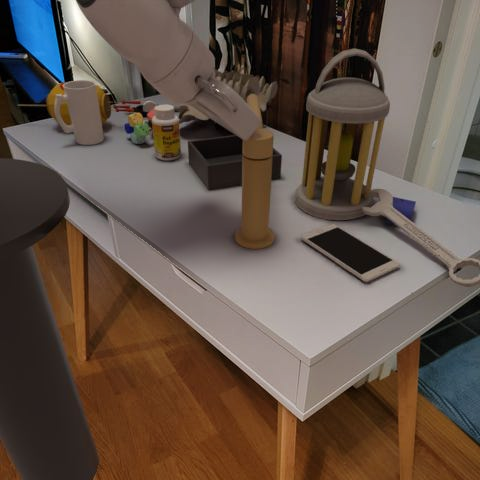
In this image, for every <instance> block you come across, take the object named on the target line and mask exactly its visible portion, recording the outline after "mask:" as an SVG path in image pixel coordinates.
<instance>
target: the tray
mask: <svg viewBox="0 0 480 480" xmlns="http://www.w3.org/2000/svg"><path fill="white" fill-rule="evenodd" d="M242 144H243V139H241V138H240V137H238V136H236V135H229V136H228V135H224V136H218V137H209V138H200V139H194V140H187V154H188V155H187V156H188V164H189V165H190V167H191V169H192V170H193V171H194V172H195V174H196V175H197V177H198V178H199V179H200V181H201V182H202V183H203V184H204V186H205V187H206V189H207V190H208V191H210V190H217V189H223V188H229V187H235V186H242V155H243V153H242ZM282 159H283V155H282V154H281V153H280V152H279V151H278V150H277V149H276V148H274V147H273V154H272V175H271V181H273V180H280V179H281V175H282V161H283V160H282Z"/></svg>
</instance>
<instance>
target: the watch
mask: <svg viewBox="0 0 480 480" xmlns="http://www.w3.org/2000/svg"><path fill="white" fill-rule="evenodd" d="M158 105H159V104H157V103H155V102H154V101H153V100H148V101H145V102H144V103H143V104H142V103H141V104H138V105H136V106H135V107H136V112H135V113H140V114H141V115H142V117H143V119H148V118H147V114H148V113H149V112H150V111H151V110H152V109H153V108H154V107H156V106H158ZM144 111H145V112H144Z"/></svg>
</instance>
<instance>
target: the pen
mask: <svg viewBox="0 0 480 480" xmlns="http://www.w3.org/2000/svg"><path fill="white" fill-rule="evenodd" d="M172 106H173V107H174V112H180V108H181V106H182V105H172ZM136 107H137V106H135V107H133V106H132V107H130V109H134V112H133V113H136ZM144 112H145V111H144ZM128 113H130V114H131V112H128Z"/></svg>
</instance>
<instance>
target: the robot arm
mask: <svg viewBox="0 0 480 480" xmlns="http://www.w3.org/2000/svg"><path fill="white" fill-rule="evenodd" d="M195 1H196V0H75V3H76V4H77V6H78V8H79V9H80V11H81V13H82V15H83V16H84V17H85V19H86V20H87V21H88V22H89V24H90V25H91V27H92V28H93V29H94V30H95V31H96V32H97V33H98V35H99V36H100V37H101V38H102V39H103V40H104V41H105V42H106V43H107V44H108V45H109V46H110V47H111V48H112V49H113V50H114V51H115V52H116V53H117V54H118V55H119V56H120V57H122V58H123V59H124V60H126V61H128V62H130V63H131V64H133V65H134V66H135V67H136V68H137V69H138V70H139V72H140V74H141V75H142V77H143V78H144V79H145V81H146V82H147V83H148V84H150V85H151V87H152V88H154V89H155V90H156V91H157V92H158V93H159V94H160V95H161V96H162V97H163V98H164V99H165V100H166V101H167V102H168V103H169V104H170V105H172V106H181V105H185V106H189V105H190V106H192V107H194V108H195V109H197V110H198V111H200V112H201V113H203V114H204V115H206V116H207V117H209V119H210V120H212V121H214V123H215V122H217V123H218V124H220V125H221V126H223V127H224V128H226V129H227V130H229V131H230V132H232V133H233V134H235V135H236V136H238V137H240V138H241V139H243V140H244V141H248V139H249V138H251V137H252V135H253V134H254V133H255V132H256V130H257V129H258V128H259V126H260V125H261V120H260V118H259V116H258V115H257V114H256V113H255V112H254V111H253V110H252V109H251V108H250V106H249V105H248V104H247V103H246V102H245V101H244V100H243V99H242V98H241V97H240V96H239V95H238V94H237V93H236V92H235V91H234V90H233V89H232V88H231V87H229V86H228V85H227V84H225V83H223V82H221V81H220V80H218V79H216V78H215V71H214V70H215V68H214V67H215V60H216V59H215V56H214V54H213V52H212V51H211V50H210V49H209V47H208V46H207V45H206V44H205V43H204V42H203V41H202V39H201V38H200V37H199V36H198V35H197V34H196V33H195V31H194V30H193V29H192V28H191V27H190V26H189V24H187V23H186V22H185V21H183V20H181V17H180V13H181V11H182V9H183V8H185V7H187V6H188V5H190V4H192V3H193V2H195Z"/></svg>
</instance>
